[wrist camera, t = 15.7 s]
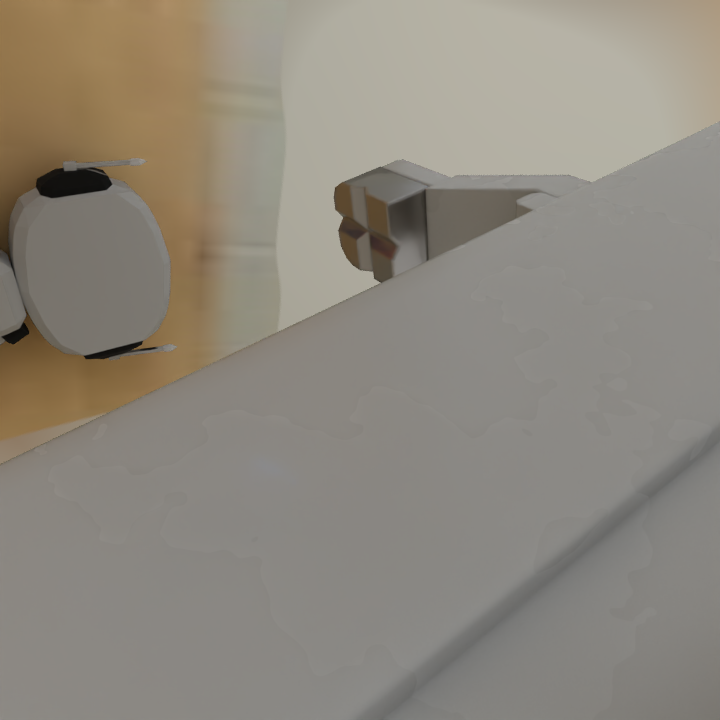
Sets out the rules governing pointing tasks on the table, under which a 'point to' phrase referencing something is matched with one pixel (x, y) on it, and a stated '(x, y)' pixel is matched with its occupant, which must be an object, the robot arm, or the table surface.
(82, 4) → the table surface
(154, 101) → the table surface
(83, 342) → the robot toy
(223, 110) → the table surface
